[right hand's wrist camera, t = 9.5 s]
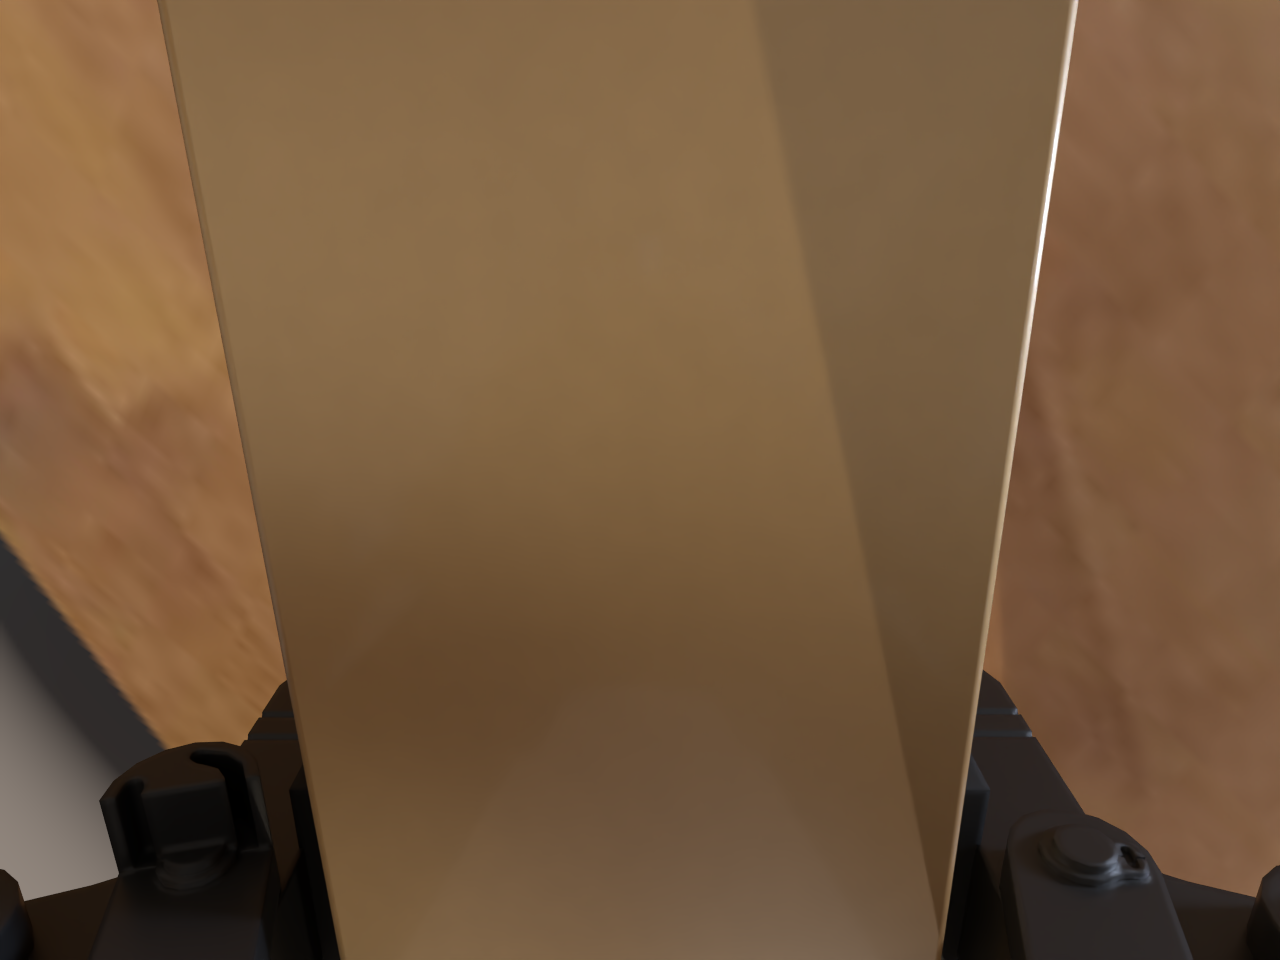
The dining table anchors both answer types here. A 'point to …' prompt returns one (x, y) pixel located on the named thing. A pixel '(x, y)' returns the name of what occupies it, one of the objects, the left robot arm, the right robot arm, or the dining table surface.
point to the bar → (628, 446)
